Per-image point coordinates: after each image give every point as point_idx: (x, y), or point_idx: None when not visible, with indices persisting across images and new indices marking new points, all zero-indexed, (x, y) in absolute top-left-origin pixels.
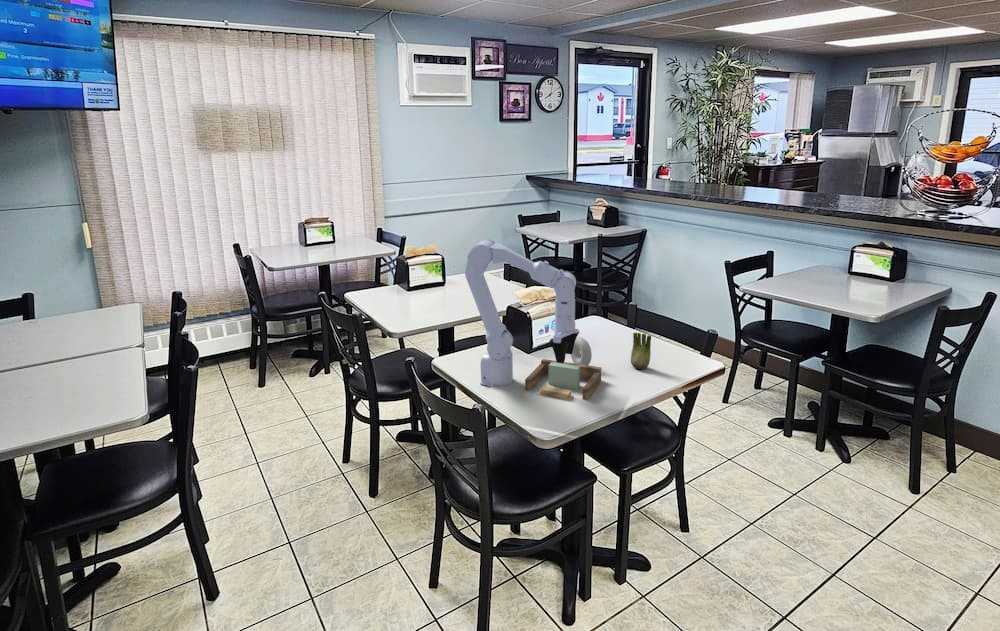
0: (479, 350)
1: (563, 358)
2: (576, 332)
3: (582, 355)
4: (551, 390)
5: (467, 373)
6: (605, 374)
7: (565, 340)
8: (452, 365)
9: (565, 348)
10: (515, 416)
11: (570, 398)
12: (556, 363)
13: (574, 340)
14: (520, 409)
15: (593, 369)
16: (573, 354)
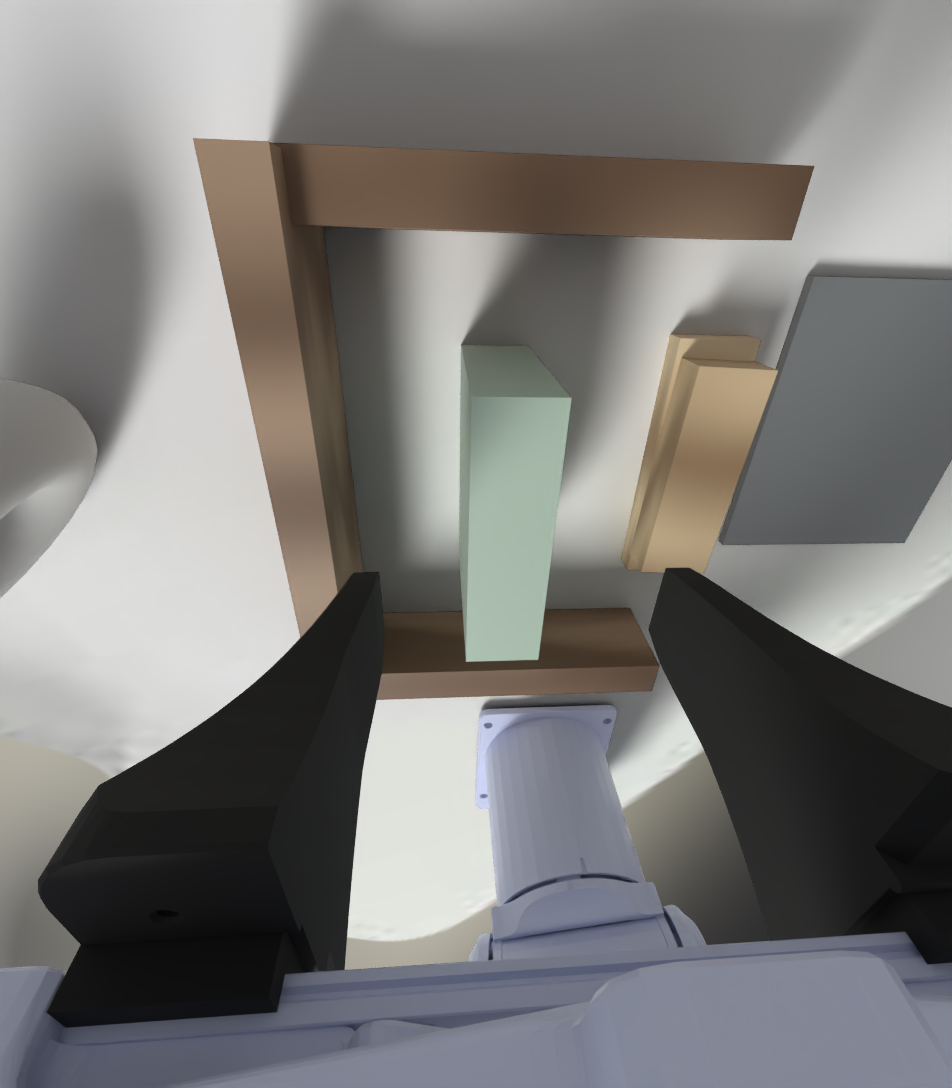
0: None
1: (735, 605)
2: (913, 1006)
3: (35, 481)
4: (715, 506)
5: (491, 856)
6: (38, 171)
7: (352, 786)
8: (437, 907)
9: (948, 708)
10: (934, 573)
11: (736, 345)
12: (479, 622)
13: (332, 699)
14: (850, 580)
15: (288, 251)
16: (6, 570)
